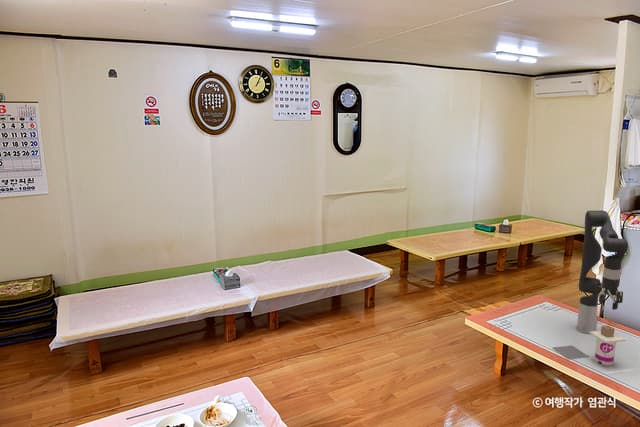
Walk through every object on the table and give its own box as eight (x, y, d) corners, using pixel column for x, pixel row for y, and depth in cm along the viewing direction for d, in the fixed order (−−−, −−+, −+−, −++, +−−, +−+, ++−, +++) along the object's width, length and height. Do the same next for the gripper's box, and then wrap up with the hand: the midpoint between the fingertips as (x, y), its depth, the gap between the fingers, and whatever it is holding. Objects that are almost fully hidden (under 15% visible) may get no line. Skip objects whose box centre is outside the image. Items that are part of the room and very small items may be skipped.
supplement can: (613, 369, 227) (616, 342, 224) (594, 364, 231) (597, 338, 228) (612, 362, 234) (616, 335, 231) (594, 357, 238) (597, 331, 235)
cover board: (607, 331, 236) (608, 321, 235) (625, 340, 225) (626, 331, 224) (589, 333, 234) (590, 323, 233) (606, 342, 223) (607, 333, 222)
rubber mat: (572, 347, 250) (572, 345, 249) (589, 358, 237) (589, 357, 237) (551, 349, 247) (551, 347, 247) (567, 361, 235) (568, 359, 235)
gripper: (629, 280, 220) (625, 311, 224) (606, 271, 234) (603, 299, 238) (616, 282, 219) (612, 312, 223) (594, 272, 233) (590, 301, 236)
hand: (607, 305), depth 230 cm, fingers open, 8 cm apart
